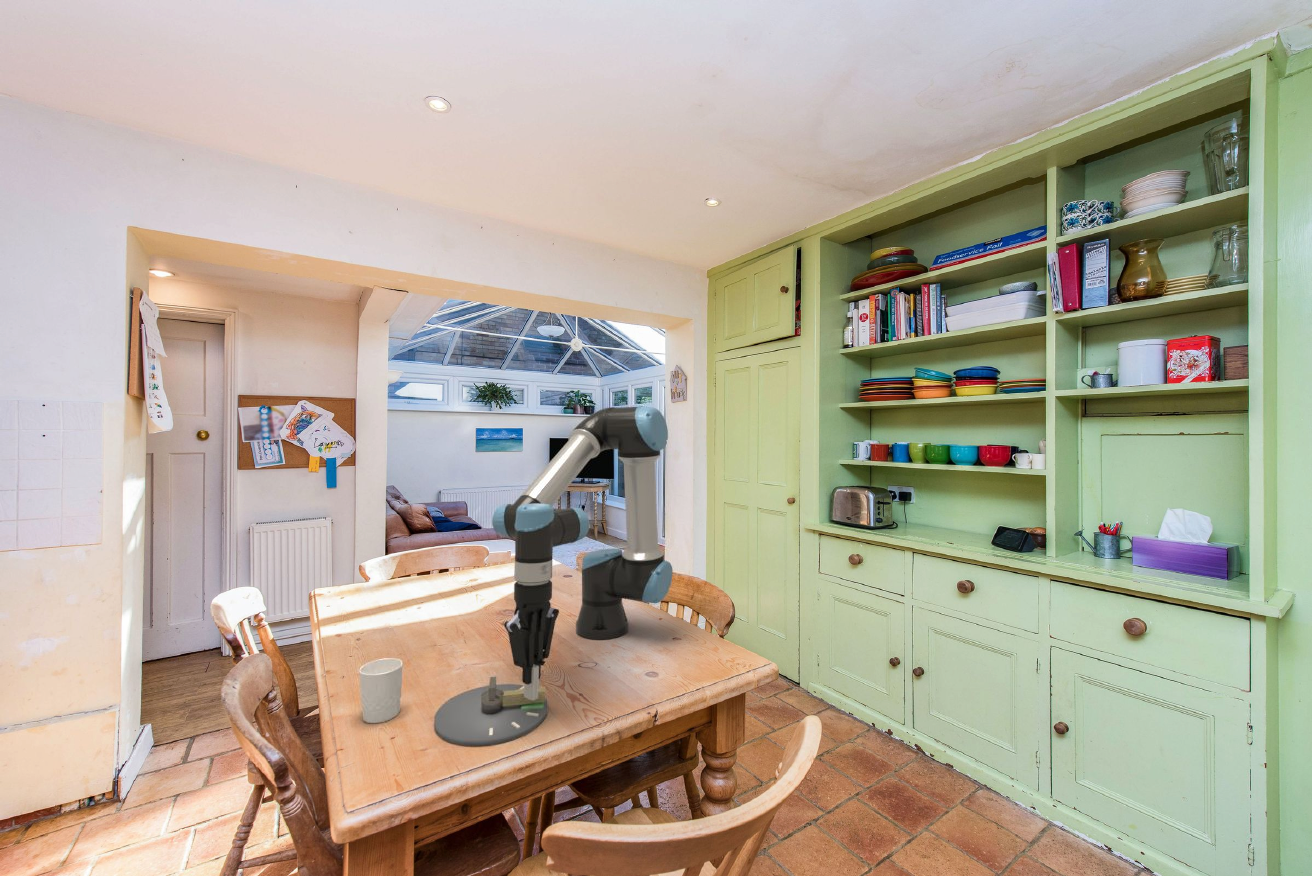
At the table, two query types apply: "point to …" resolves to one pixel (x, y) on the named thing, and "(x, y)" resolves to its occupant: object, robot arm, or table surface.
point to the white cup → (380, 689)
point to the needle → (505, 698)
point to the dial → (486, 719)
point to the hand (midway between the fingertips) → (531, 697)
